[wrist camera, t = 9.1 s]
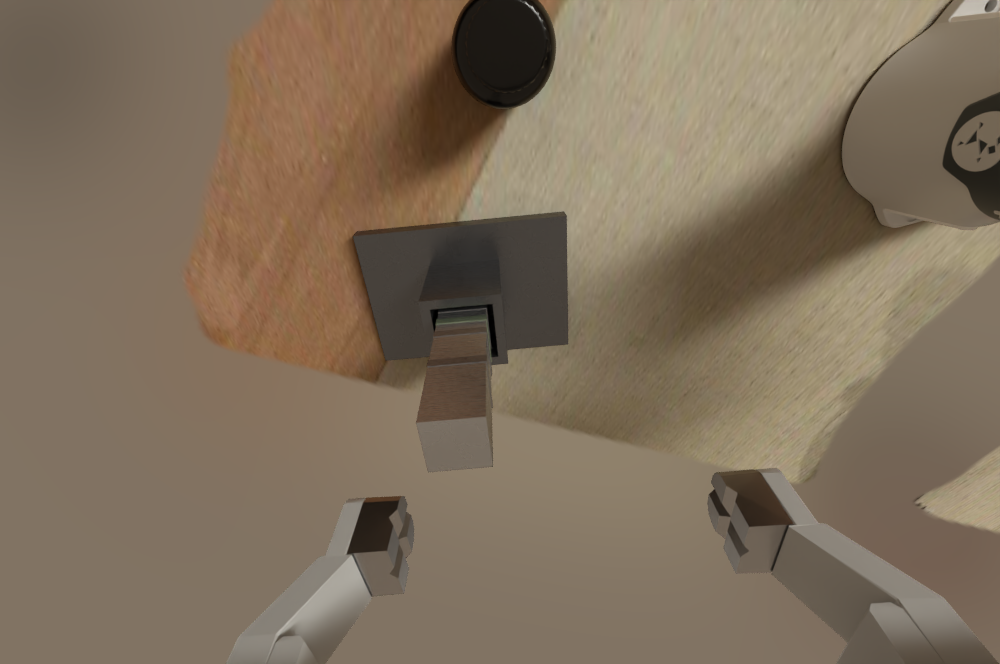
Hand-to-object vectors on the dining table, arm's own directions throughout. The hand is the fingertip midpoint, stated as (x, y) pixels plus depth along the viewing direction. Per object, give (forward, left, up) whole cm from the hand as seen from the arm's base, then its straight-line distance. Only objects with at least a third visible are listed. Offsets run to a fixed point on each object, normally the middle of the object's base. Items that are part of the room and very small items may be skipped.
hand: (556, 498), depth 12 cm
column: (+5, +9, -27) cm, 29 cm away
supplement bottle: (0, -11, -34) cm, 36 cm away
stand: (+5, +9, -34) cm, 35 cm away
